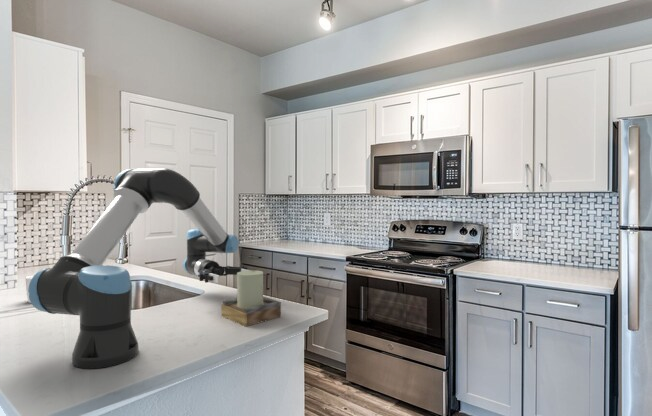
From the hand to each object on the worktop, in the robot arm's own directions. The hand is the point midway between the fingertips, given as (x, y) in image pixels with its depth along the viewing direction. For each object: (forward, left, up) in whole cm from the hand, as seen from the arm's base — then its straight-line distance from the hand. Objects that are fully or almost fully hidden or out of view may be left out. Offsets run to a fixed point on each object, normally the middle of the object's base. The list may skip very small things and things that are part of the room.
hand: (235, 276), depth 144 cm
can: (0, -10, -9) cm, 13 cm away
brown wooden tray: (+1, -10, -13) cm, 16 cm away
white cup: (-49, +67, -13) cm, 84 cm away
